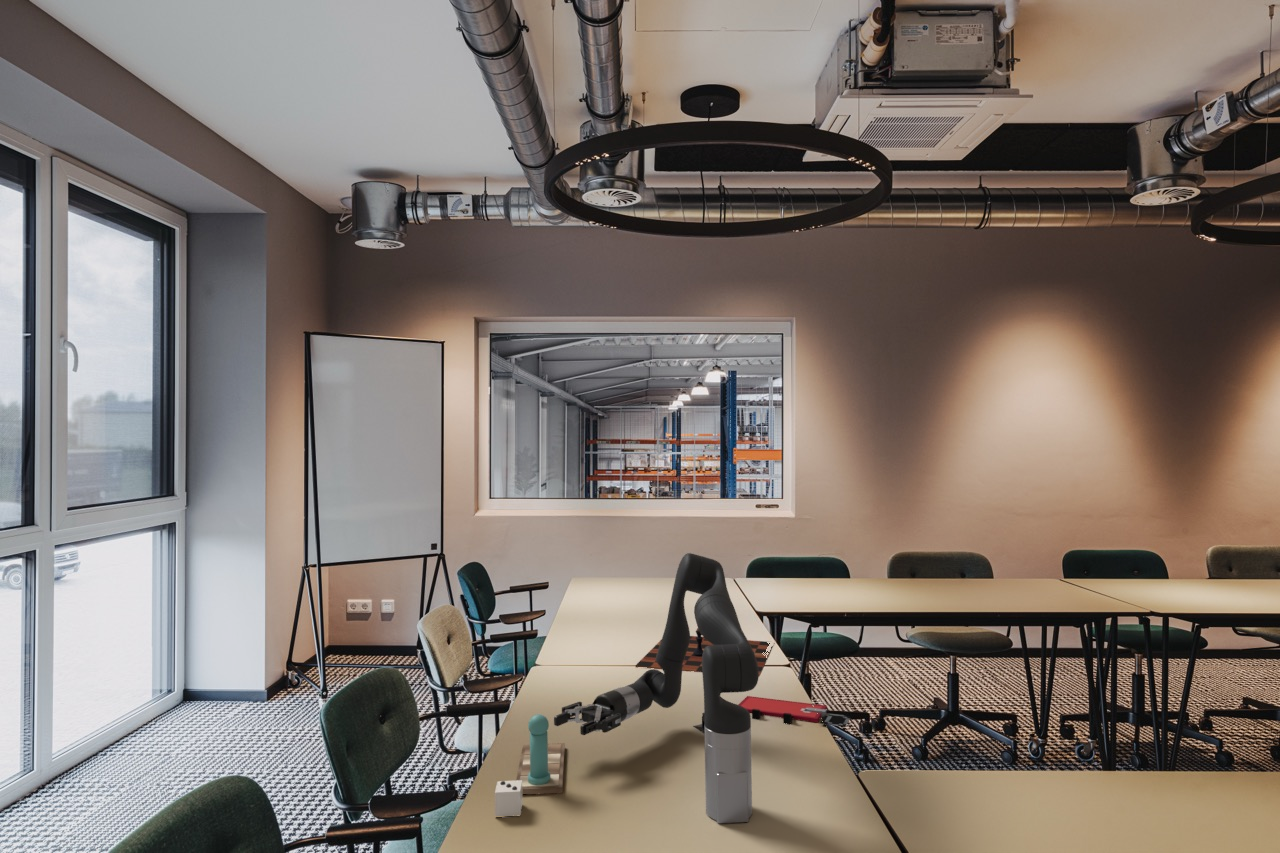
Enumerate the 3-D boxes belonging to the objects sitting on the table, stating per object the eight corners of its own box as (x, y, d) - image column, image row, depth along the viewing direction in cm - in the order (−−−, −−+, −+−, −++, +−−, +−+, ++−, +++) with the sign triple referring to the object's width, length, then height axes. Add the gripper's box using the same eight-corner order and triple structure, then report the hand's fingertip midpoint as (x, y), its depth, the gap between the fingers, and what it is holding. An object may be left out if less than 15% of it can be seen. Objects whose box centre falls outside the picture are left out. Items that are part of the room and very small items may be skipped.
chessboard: (635, 668, 252) (635, 634, 252) (666, 636, 290) (666, 607, 290) (759, 679, 241) (759, 644, 241) (774, 645, 279) (774, 614, 279)
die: (520, 816, 155) (520, 788, 155) (495, 817, 155) (494, 790, 155) (522, 804, 160) (522, 777, 160) (497, 805, 160) (497, 778, 160)
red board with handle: (843, 733, 195) (854, 714, 209) (843, 721, 195) (854, 703, 209) (730, 717, 208) (747, 700, 222) (730, 707, 208) (747, 691, 222)
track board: (562, 793, 165) (562, 786, 165) (514, 795, 164) (514, 788, 164) (564, 748, 188) (564, 742, 188) (523, 749, 187) (522, 744, 187)
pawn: (549, 784, 166) (549, 718, 166) (527, 785, 165) (526, 719, 165) (550, 774, 170) (550, 710, 171) (528, 775, 170) (527, 711, 170)
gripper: (595, 684, 192) (546, 702, 179) (639, 696, 182) (590, 716, 170) (595, 714, 192) (546, 735, 179) (639, 728, 182) (591, 750, 170)
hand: (568, 726), depth 175 cm, fingers open, 8 cm apart
